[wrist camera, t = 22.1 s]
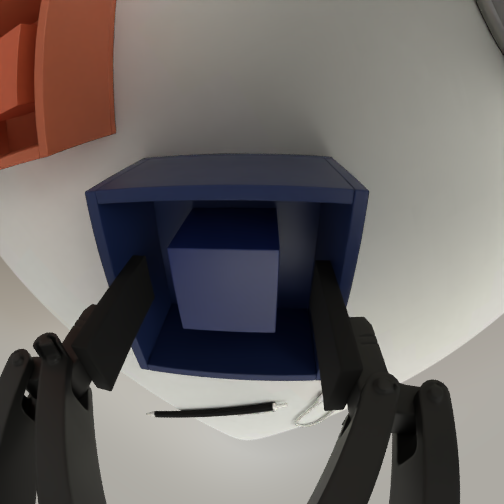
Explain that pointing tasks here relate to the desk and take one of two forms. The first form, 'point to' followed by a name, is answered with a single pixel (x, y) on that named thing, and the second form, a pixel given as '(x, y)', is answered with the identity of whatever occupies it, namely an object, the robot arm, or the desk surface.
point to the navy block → (227, 269)
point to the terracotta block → (17, 71)
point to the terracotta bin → (62, 77)
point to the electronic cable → (320, 399)
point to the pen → (220, 411)
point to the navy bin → (231, 196)
